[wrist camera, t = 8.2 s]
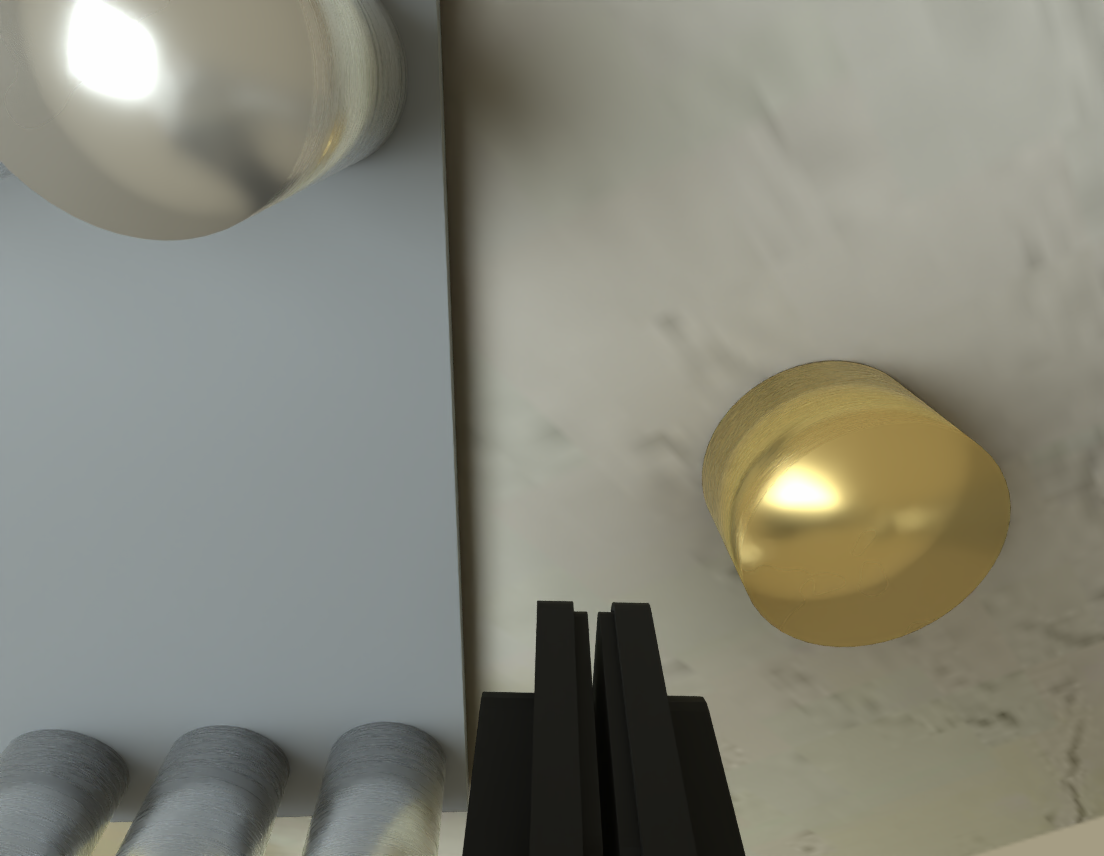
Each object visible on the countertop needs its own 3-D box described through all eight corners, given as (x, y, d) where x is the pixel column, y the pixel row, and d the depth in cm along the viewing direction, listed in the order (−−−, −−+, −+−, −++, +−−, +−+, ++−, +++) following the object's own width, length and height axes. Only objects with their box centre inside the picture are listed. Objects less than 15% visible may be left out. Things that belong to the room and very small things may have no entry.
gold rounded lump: (945, 355, 15) (1043, 416, 12) (901, 550, 17) (975, 638, 14) (709, 367, 15) (754, 432, 12) (695, 562, 17) (731, 654, 14)
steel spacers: (401, -41, 11) (286, -169, 5) (448, 799, 19) (423, 1084, 14) (-387, -73, 10) (-1453, -257, 5) (22, 812, 18) (-181, 1115, 13)
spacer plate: (437, -72, 11) (432, -79, 10) (468, 791, 20) (467, 811, 19) (-395, -108, 10) (-446, -118, 10) (23, 803, 19) (8, 825, 18)
